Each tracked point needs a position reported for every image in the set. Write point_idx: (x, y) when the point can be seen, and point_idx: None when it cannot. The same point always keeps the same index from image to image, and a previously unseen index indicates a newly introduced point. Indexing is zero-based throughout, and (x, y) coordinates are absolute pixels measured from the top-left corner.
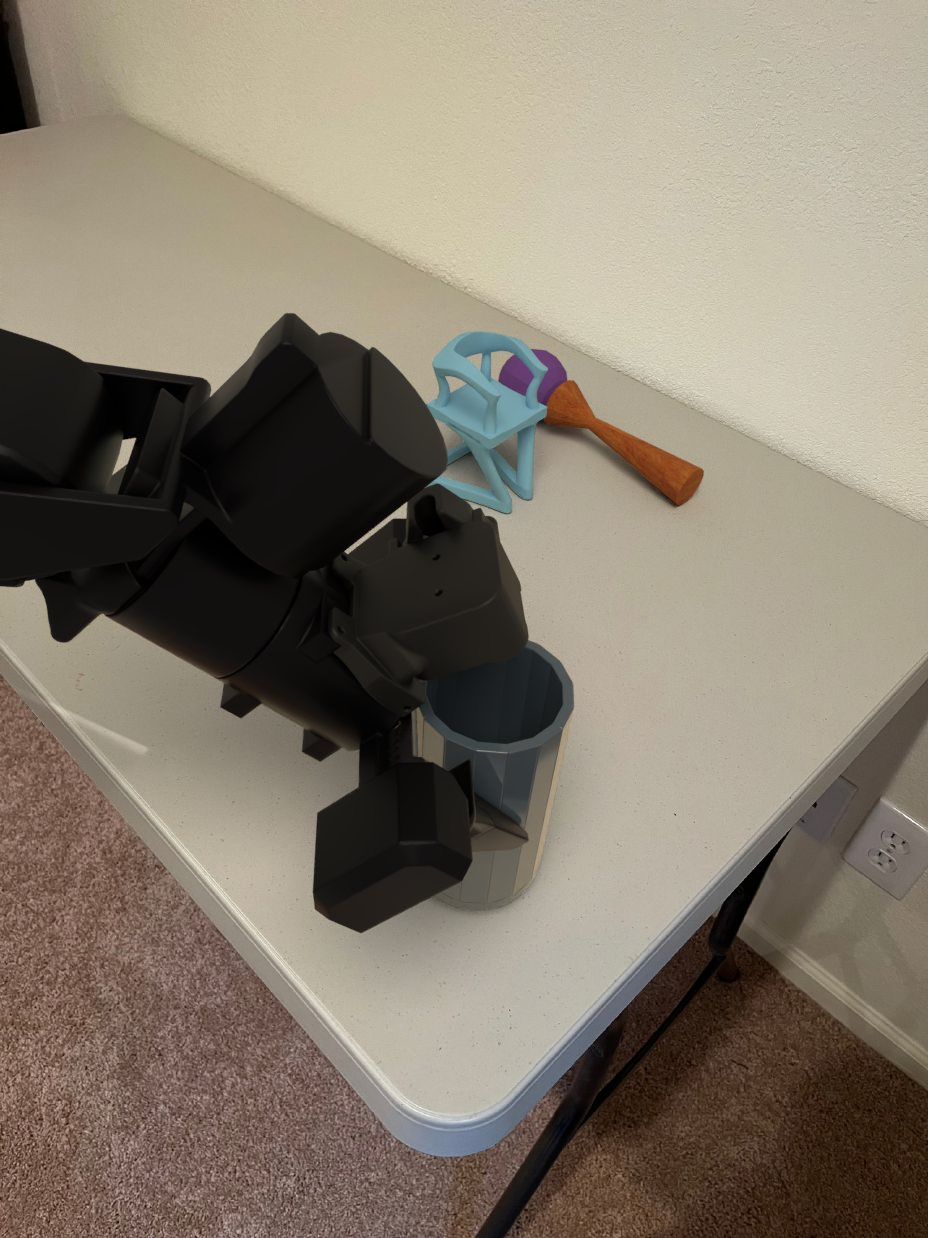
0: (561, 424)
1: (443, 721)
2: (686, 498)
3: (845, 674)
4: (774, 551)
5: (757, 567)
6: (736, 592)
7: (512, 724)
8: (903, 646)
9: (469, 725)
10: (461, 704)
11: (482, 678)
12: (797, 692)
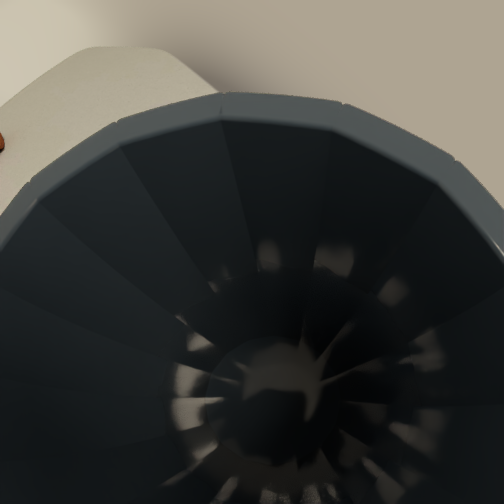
0: None
1: (150, 468)
2: (2, 141)
3: (158, 75)
4: (59, 100)
5: (63, 109)
6: (71, 121)
7: (168, 333)
8: (152, 53)
9: (150, 408)
10: (121, 431)
11: (75, 384)
12: (161, 97)
